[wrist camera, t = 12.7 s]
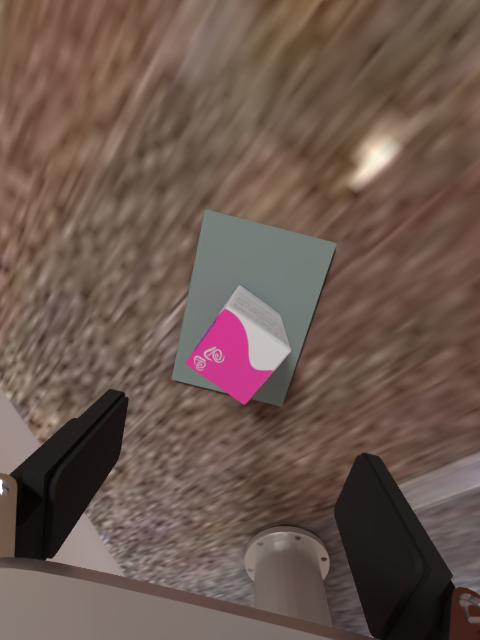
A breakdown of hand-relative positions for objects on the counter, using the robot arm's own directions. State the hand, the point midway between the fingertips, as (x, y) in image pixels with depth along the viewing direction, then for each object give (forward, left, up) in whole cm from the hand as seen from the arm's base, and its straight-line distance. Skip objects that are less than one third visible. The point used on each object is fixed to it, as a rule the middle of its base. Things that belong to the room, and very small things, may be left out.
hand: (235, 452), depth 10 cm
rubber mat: (0, 0, -21) cm, 21 cm away
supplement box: (0, 0, -20) cm, 20 cm away
